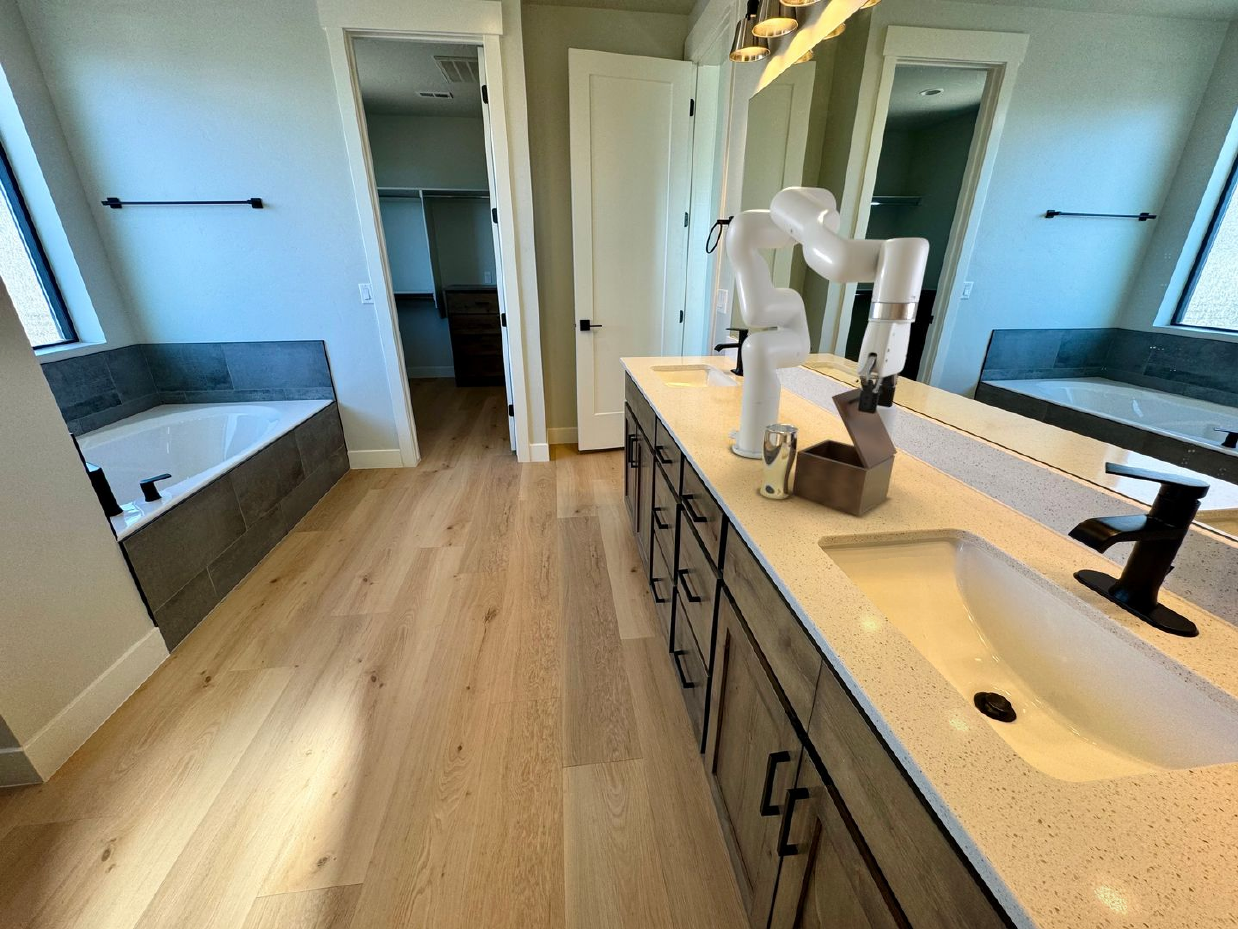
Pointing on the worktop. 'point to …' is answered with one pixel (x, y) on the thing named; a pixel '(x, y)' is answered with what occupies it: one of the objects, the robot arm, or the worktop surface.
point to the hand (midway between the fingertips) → (875, 408)
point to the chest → (840, 477)
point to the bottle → (888, 417)
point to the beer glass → (778, 459)
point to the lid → (864, 429)
